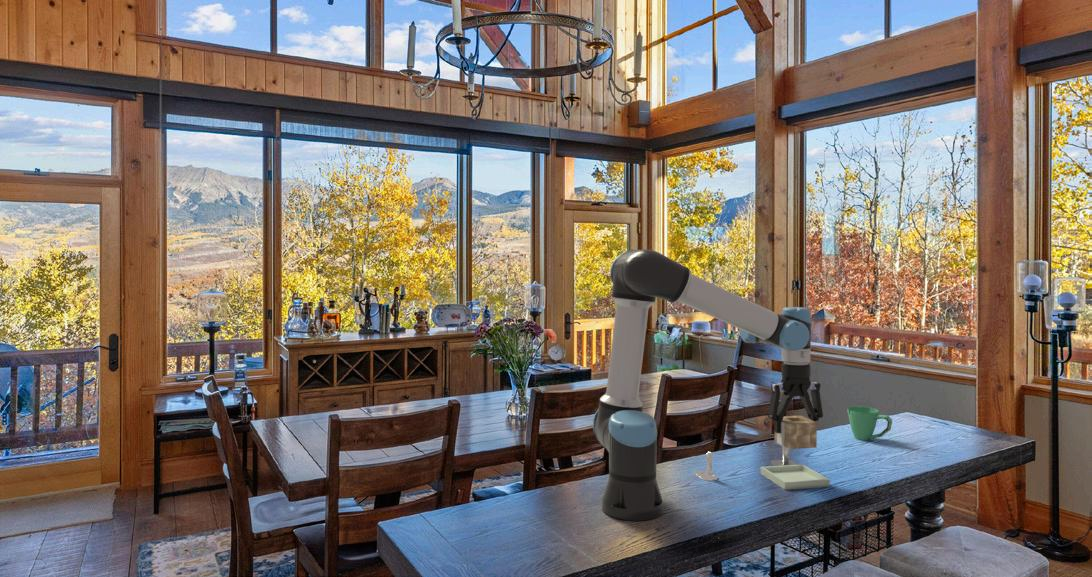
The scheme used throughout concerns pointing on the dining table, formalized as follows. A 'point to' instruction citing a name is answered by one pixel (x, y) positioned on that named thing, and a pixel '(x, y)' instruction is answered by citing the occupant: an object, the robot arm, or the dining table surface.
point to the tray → (795, 477)
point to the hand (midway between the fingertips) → (795, 443)
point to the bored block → (799, 432)
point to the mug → (866, 422)
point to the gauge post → (783, 459)
